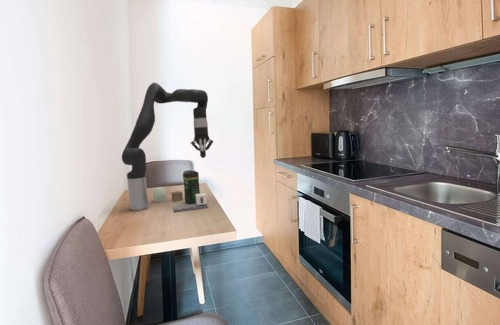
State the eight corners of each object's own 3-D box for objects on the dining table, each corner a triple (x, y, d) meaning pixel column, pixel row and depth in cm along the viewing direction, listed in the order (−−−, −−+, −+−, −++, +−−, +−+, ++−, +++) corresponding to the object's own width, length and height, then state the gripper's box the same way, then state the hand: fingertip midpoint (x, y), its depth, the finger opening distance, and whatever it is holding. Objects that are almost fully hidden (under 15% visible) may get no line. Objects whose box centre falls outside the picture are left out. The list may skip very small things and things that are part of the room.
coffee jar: (202, 202, 163) (200, 170, 161) (189, 205, 158) (187, 172, 156) (195, 199, 171) (193, 168, 169) (183, 201, 166) (180, 170, 164)
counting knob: (195, 203, 155) (195, 194, 154) (205, 201, 156) (204, 192, 156) (197, 205, 149) (196, 196, 149) (206, 204, 151) (206, 194, 150)
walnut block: (172, 200, 172) (171, 192, 172) (179, 198, 175) (179, 190, 174) (174, 201, 168) (174, 193, 168) (182, 200, 171) (182, 192, 170)
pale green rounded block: (153, 200, 174) (152, 187, 173) (165, 199, 176) (164, 186, 175) (153, 203, 167) (152, 189, 166) (166, 201, 169) (165, 188, 168)
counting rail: (173, 208, 153) (173, 205, 152) (204, 204, 158) (204, 201, 158) (174, 212, 145) (174, 209, 145) (207, 207, 150) (207, 205, 150)
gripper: (210, 126, 163) (212, 156, 165) (187, 127, 158) (190, 158, 160) (214, 125, 156) (216, 157, 158) (190, 127, 151) (192, 159, 154)
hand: (203, 157), depth 159 cm, fingers closed
